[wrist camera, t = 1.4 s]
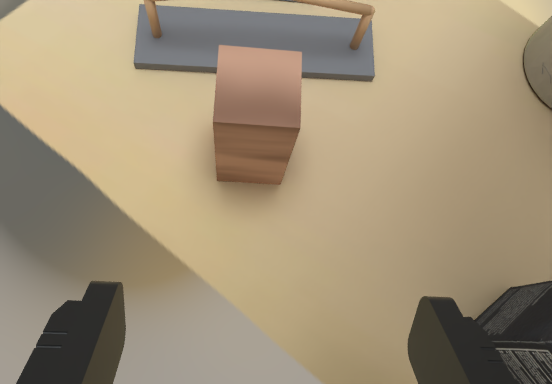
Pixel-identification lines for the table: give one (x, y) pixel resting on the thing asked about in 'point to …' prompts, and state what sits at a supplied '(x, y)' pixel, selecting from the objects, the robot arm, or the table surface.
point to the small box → (523, 331)
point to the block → (256, 113)
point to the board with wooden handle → (257, 38)
